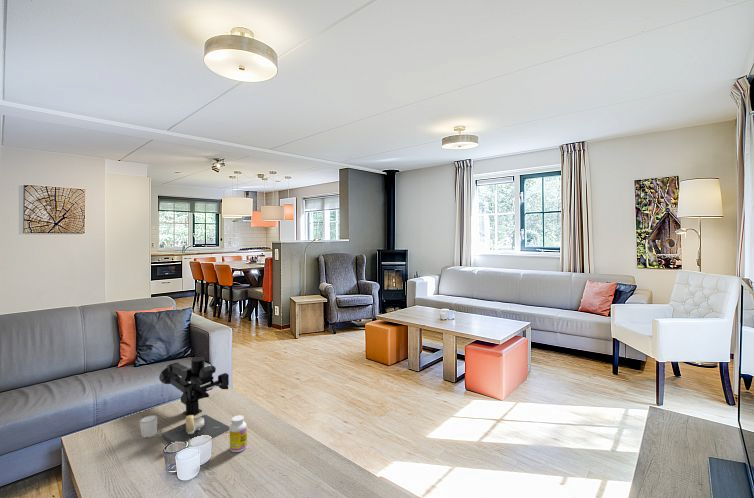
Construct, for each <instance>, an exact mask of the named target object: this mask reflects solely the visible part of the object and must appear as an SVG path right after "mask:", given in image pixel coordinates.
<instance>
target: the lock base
mask: <svg viewBox="0 0 754 498" xmlns="http://www.w3.org/2000/svg"><path fill="white" fill-rule="evenodd" d="M199 417H202V418H204V426H203V427H201V428H199V429H196V430H195V431H194V433H193V434H188V432H186V422H184V423H182V424H179V425H177V426H176V427H174V428H171V429H169V430H166V431H164V432H162V433H161V438H163V439H164V440H165V441H168V442H169V443H170V444H172V443H171V442H175V441H187V442H189V441H190V440H191V439H192V438H194V437H197V436H201V435H209V436H211V437H212V439H214V438H217V437H218V436H220V435H223V434H224V433H226V432H228V431H229V428H230V425H227V424H226V423H223V422H221V421H218V419H215V418H214V417H211V416H209V415H208V414H203V415H201V416H199Z"/></svg>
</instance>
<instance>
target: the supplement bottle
mask: <svg viewBox="0 0 754 498" xmlns="http://www.w3.org/2000/svg"><path fill="white" fill-rule="evenodd" d="M247 427H248V425H247V423H246V422H245V417H244V415H241V414H240V415H239V414H238V415H235V416H233V417H232V418H231V424H230V425H229V430H228V431H229V450H230V451H231V452H232V453H241V452H243V451H244V450H246V449H247V447H248V433H247V432H248V431H247Z"/></svg>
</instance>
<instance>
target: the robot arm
mask: <svg viewBox="0 0 754 498" xmlns="http://www.w3.org/2000/svg"><path fill="white" fill-rule="evenodd" d="M191 358H192V359H191V361H190V363H191V364H190V366H191V367H187V366H185V365H182V364H181V363H180V362H177V361H176V362H174V363H173V362H172V363H170V364H168V365H166V368H164V369H163V370H162V371H161V372H160V374H159V381H160V382H161V383H162V384H163V385H172V386H173V387H174V388H176V389H177V390H178V391H180V392H182V395H181V396H180V403H182V404H184V405H185V410H184V411H183V412H182V414H184V415H185V416H188V415H194V416H195V415H196V414H199V413H201V412H202V411H203V410H202V409H200V407H199V406H200V404H199V400H201V399H206V398H209V397H210V394H209V393H208V391H212V390H213V388H216V387H218V388H220V390H229V382H230V381H229V380H230V379H229V377H230V375H229V374H228V373H226V372H224V373H221V374H219V375H217V380H215V381H214V376H213V374H215V373H216V370H217V369H216V366H214V365H208V366H205V357H204V356H198V357H197V356H195V357H191Z"/></svg>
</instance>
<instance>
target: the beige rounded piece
mask: <svg viewBox="0 0 754 498" xmlns="http://www.w3.org/2000/svg"><path fill="white" fill-rule="evenodd" d="M194 416H195V415H188V416H187V415H185V423H186V432H188V434H193V433H194V431H195V430H196V429H199V428H201V427H203V426H204V418H202V417H200V416H197V417H194Z"/></svg>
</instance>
